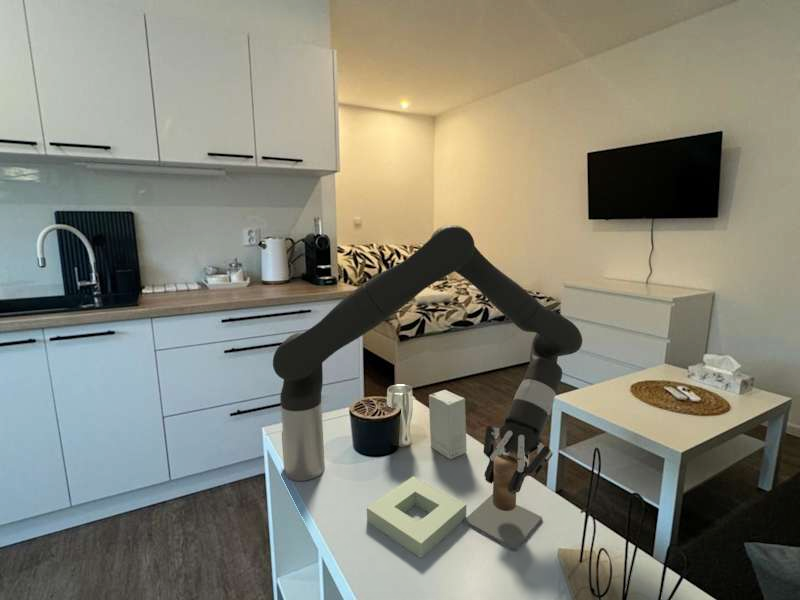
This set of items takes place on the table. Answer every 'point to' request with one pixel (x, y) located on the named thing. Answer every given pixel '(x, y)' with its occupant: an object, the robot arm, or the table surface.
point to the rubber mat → (503, 523)
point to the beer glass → (402, 409)
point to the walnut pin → (504, 482)
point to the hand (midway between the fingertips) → (500, 486)
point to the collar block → (406, 529)
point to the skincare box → (447, 423)
